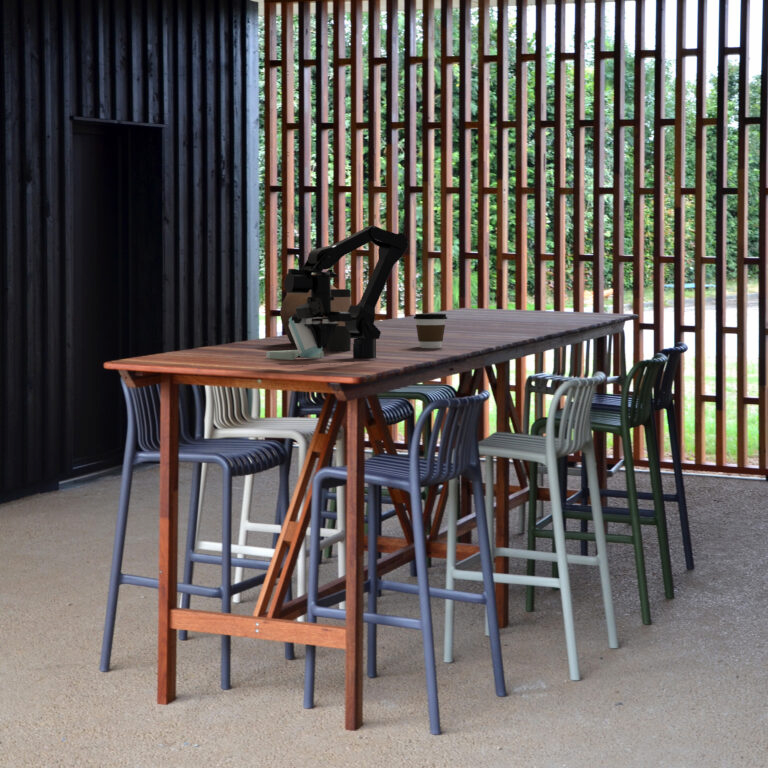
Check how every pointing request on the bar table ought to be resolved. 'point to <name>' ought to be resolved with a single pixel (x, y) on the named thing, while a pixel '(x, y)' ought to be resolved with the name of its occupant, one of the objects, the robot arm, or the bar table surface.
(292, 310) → the pottery
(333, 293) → the travel mug
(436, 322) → the coffee cup
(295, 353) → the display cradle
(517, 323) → the bar table surface
